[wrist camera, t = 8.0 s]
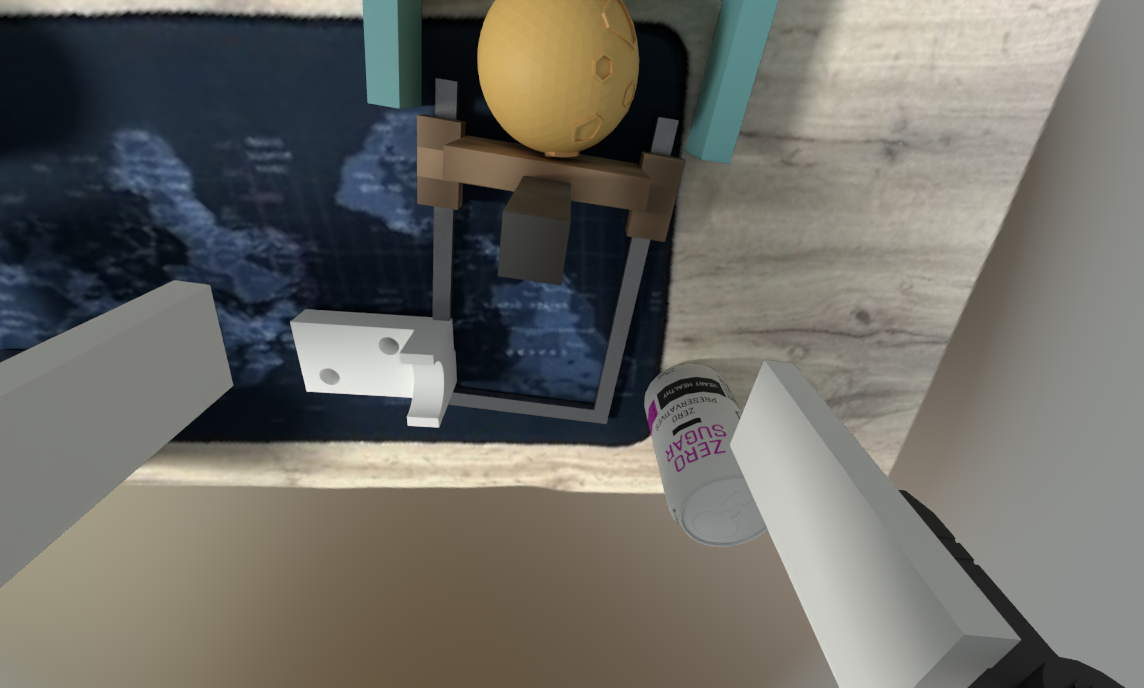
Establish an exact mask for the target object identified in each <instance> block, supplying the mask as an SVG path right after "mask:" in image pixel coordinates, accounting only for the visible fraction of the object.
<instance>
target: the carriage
mask: <svg viewBox="0 0 1144 688" xmlns="http://www.w3.org/2000/svg"><path fill="white" fill-rule="evenodd" d="M465 124H466V121H460V120H454V119H448V118H442V117H436V116H430V115H424V114H423V115H417V204H422V205H429V206H435V207H441V208H448V209H454V210H458V209H459V208H460V207H461V206H462V197H463V183H465V184H471V185H477V186H484V187H490V188H496V189H503V190H509V191H514V193H513V195H512V197H511V198H510V200H509V202H508V204H507V205H506V207H505V209H504V211H503V217H502V229H501V241H500V253H499V265H498V276H501V277H508V278H515V279H522V280H529V281H536V282H542V283H549V284H556V285H561V283H562V276H563V270H564V263H565V257H566V250H567V243H568V237H569V230H570V224H571V200H572V201H578V202H585V203H591V204H597V205H603V206H610V207H616V208H622V209H629V214H628V219H627V223H626V228H625V232H626V235H627V236H629V237H636V238H642V239H649V240H655V241H662V242H665V239H666V235H667V231H668V228H669V224H670V220H671V216H672V212H673V208H674V204H675V200H676V196H677V192H678V188H679V184H680V180H681V176H682V172H683V168H684V165H685V160H684V159H682V158H679V157H673V156H667V155H661V154H655V153H650V152H644V151H642V152H641V157H640V161H639V165H638V164H637V163H631V162H625V161H619V160H613V159H607V158H601V157H595V156H589V155H583V154H579V156H575V157H566V158H565V157H550V158H547V157H545V153H543V152H540V151H536V150H534V149H532V148H529V147H527V146H525V145H523V144H517V143H511V142H505V141H499V140H493V139H487V138H480V137H474V136H468V135H467V136H465Z"/></svg>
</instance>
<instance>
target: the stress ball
mask: <svg viewBox="0 0 1144 688" xmlns="http://www.w3.org/2000/svg"><path fill="white" fill-rule="evenodd" d="M638 72H639V53H638V44H637V37H636V33H635V28H634V24H633V21H632V19H631V17H630V14H629V12H628V9H627V8H626V6H625V4H624V3H623V1H622V0H495V1H494V3H493V5H492V6H491V8H490V9H489V11H488V14H487V16H486V18H485V20H484V23H483V27H482V30H481V33H480V39H479V44H478V74H479V79H480V85H481V88H482V91H483V94H484V97H485V100H486V102H487V104H488V106H489V108H490V110H491V112H492V114H493V115H494V117H495V118H496V120H497V121H498V122H499V124H500V125H501V126H502V127H503V129H504V130H505V131H506V132H508V133H509V134H510V135H511V136H512V137H513V138H514V139H516V140H517V141H519V142H520V143H522V144H523V145H525V146H527V147H529V148H532V149H534V150H536V151H540V152H543V153H545V157H547V158H550V157H565V158H566V157H575V156H579V154H580V151H582V150H585V149H588V148H590V147H591V146H593V145H595V144H597V143H598V142H600V141H601V140H603V139H604V138H605V137H606V136H607V135H609V134H610V133H611V132H612V131H613V130H614V129H615V127H616V126H617V125H618V124H619V122H620V121H621V120H622V119H623V117H624V116H625V115H626V114H627V112H628V110H629V107H630V105H631V102H632V101H633V98H634V94H635V90H636V85H637V79H638Z"/></svg>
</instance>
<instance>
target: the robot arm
mask: <svg viewBox="0 0 1144 688" xmlns="http://www.w3.org/2000/svg"><path fill="white" fill-rule="evenodd" d="M232 386H233V382H232V378H231V373H230V369H229V365H228V360H227V356H226V352H225V348H224V343H223V339H222V335H221V330H220V326H219V322H218V318H217V313H216V309H215V305H214V300H213V296H212V292H211V287H210V285H206V284H199V283H191V282H184V281H176V280H174V281H172V282H170V283H167V284H165V285H163V286H161V287H159V288H157V289H155V290H153V291H151V292H148V293H146V294H144V295H142V296H140V297H138V298H136V299H134V300H132V301H129V302H127V303H125V304H123V305H121V306H119V307H117V308H115V309H113V310H110V311H108V312H106V313H104V314H102V315H100V316H98V317H96V318H94V319H91V320H89V321H87V322H85V323H83V324H81V325H79V326H77V327H74V328H72V329H70V330H68V331H66V332H64V333H62V334H60V335H58V336H55V337H53V338H51V339H49V340H47V341H45V342H43V343H41V344H39V345H36V346H34V347H32V348H30V349H28V350H26V351H21V350H0V588H1V587H2V586H3V585H4V584H5V583H7V582H8V581H9V580H10V579H11V578H12V577H13V576H15V575H16V574H17V573H18V572H19V571H20V570H22V569H23V568H24V567H25V566H26V565H27V564H28V563H30V561H32V560H33V559H34V558H35V557H37V556H38V555H39V554H40V553H41V552H42V551H43V550H45V549H46V548H47V547H48V546H49V545H50V544H51V543H52V542H54V541H55V540H56V539H57V538H58V537H60V536H61V535H62V534H63V533H64V532H65V531H66V530H68V529H69V528H70V527H71V526H72V525H73V524H75V523H76V522H77V521H78V520H79V519H80V518H81V517H83V516H84V515H85V514H86V513H87V512H88V511H89V510H91V509H92V508H93V507H94V506H95V505H96V504H98V503H99V502H100V501H101V500H102V499H103V498H104V497H106V496H107V495H108V494H109V493H110V492H111V491H113V490H114V489H115V488H116V487H117V486H118V485H119V484H121V483H122V482H123V481H124V480H125V479H126V478H127V477H129V476H130V475H131V474H132V473H133V472H134V471H136V470H137V469H138V468H139V467H140V466H141V465H142V464H144V463H145V462H146V461H147V460H148V459H149V458H151V457H152V456H153V455H154V454H155V453H156V452H157V451H159V450H160V449H161V448H162V447H163V446H164V445H165V444H167V443H168V442H169V441H170V440H171V439H172V438H174V437H175V436H176V435H177V434H178V433H179V432H180V431H182V430H183V429H184V428H185V427H186V426H187V425H189V424H190V423H191V422H192V421H193V420H194V419H195V418H197V417H198V416H199V415H200V414H201V413H202V412H203V411H205V410H206V409H207V408H208V407H209V406H210V405H212V404H213V403H214V402H215V401H216V400H217V399H218V398H220V397H221V396H222V395H223V394H224V393H225V392H227V391H228V390H229V389H230V388H231V387H232ZM730 447H731V449H732V451H733V453H734V456H735V458H736V460H737V462H738V464H739V467H740V469H741V471H742V473H743V476H744V478H745V480H746V482H747V484H748V487H749V489H750V491H751V493H752V495H753V498H754V500H755V502H756V504H757V507H758V509H759V511H760V513H761V515H762V518H763V520H764V522H765V524H766V526H767V529H768V531H769V533H770V535H771V538H772V540H773V541H774V544H775V546H776V548H777V551H778V553H779V555H780V557H781V560H782V562H783V564H784V566H785V568H786V571H787V573H788V575H789V577H790V580H791V582H792V584H793V586H794V588H795V590H796V593H797V595H798V597H799V599H800V601H801V604H802V606H803V608H804V611H805V613H806V615H807V617H808V619H809V622H810V623H811V626H812V628H813V630H814V632H815V635H816V637H817V639H818V642H819V644H820V646H821V648H822V650H823V653H824V655H825V657H826V659H827V661H828V664H829V666H830V668H831V670H832V672H833V675H834V677H835V679H836V681H837V684H838V686H839V688H1125V687H1123V686H1121V685H1120V684H1119V683H1117V682H1116V681H1114V680H1113V679H1111V678H1110V677H1108V676H1107V675H1105V674H1104V673H1102V672H1100V671H1098V670H1096V669H1094V668H1092V667H1090V666H1088V665H1086V664H1083V663H1081V662H1079V661H1076V660H1072V659H1067V658H1061V657H1058V655H1057V654H1056V653H1055V652H1054V651H1053V650H1052V649H1051V648H1050V647H1049V646H1048V644H1047V643H1046V642H1045V641H1044V640H1043V639H1042V638H1041V636H1040V635H1039V634H1038V633H1037V632H1036V631H1035V630H1034V628H1033V627H1032V626H1031V625H1030V624H1029V623H1028V621H1027V620H1026V619H1025V618H1024V617H1023V616H1022V614H1021V613H1020V612H1019V611H1018V610H1017V609H1016V607H1015V606H1014V605H1013V604H1012V603H1011V602H1010V601H1009V600H1008V598H1007V597H1006V596H1005V595H1004V594H1003V593H1002V591H1001V590H1000V589H999V588H998V587H997V586H996V584H995V583H994V582H993V581H992V580H991V579H990V578H989V576H988V575H987V574H986V573H985V572H984V570H982V569H981V567H980V566H979V565H975V564H974V562H973V561H974V559H973V558H972V557H971V556H970V554H969V553H968V552H967V551H966V550H965V549H964V547H963V546H962V545H961V544H960V543H956V542H955V537H954V536H953V535H952V533H951V532H950V531H949V530H948V529H947V528H946V527H945V525H944V524H943V523H942V522H941V521H940V520H939V518H938V517H937V516H936V515H935V514H934V513H933V512H932V511H931V510H929V509H928V508H927V507H926V506H924V505H923V504H922V503H920V502H919V501H918V500H917V499H915V498H914V497H913V496H911V495H910V494H909V493H908V492H907V491H904V490H897V488H896V487H895V486H894V485H893V484H892V482H891V481H890V480H889V479H888V477H887V476H886V475H885V474H884V472H883V471H882V470H881V469H880V468H879V466H878V465H877V464H876V463H875V462H874V460H873V459H872V458H871V457H870V456H869V454H868V453H867V452H866V451H865V449H864V448H863V447H862V446H861V445H860V443H859V442H858V441H857V440H856V439H855V437H854V436H853V435H852V434H851V432H850V431H849V430H848V429H847V428H846V426H845V425H844V424H843V423H842V422H841V420H840V419H839V418H838V417H837V415H836V414H835V413H834V412H833V411H832V409H831V408H830V407H829V406H828V405H827V403H826V402H825V401H824V400H823V398H822V397H821V396H820V395H819V394H818V392H817V391H816V390H815V389H814V388H813V386H812V385H811V384H810V383H809V382H808V380H807V379H806V378H805V377H804V375H803V374H802V373H801V372H800V371H799V369H798V368H797V367H796V366H795V365H794V363H786V362H779V361H771V360H764V361H763V364H762V366H761V369H760V371H759V374H758V376H757V379H756V381H755V383H754V386H753V388H752V391H751V393H750V396H749V398H748V401H747V403H746V406H745V408H744V411H743V413H742V416H741V418H740V421H739V423H738V425H737V428H736V430H735V433H734V435H733V438H732V440H731V443H730Z"/></svg>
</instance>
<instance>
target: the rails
mask: <svg viewBox="0 0 1144 688" xmlns="http://www.w3.org/2000/svg"><path fill="white" fill-rule="evenodd" d="M459 104H460V82H457V81H451V80H445V79H439V78H436V91H435V116H436V117H442V118H448V119H454V120H459ZM678 122H679V120H674V119H668V118H663V117H657V116H656V121H655V125H654V130H653V134H652V139H651V144H650V148H649V152H650V153H655V154H661V155H667V156H670V155H671V151H672V147H673V143H674V138H675V134H676V130H677V126H678ZM455 219H456V210H454V209H448V208H441V207H435V206H434V247H433V320H440V321H450V319H452V304H453V276H454V247H455ZM649 243H650V240H649V239H642V238H636V237H630V240H629V245H628V250H627V254H626V259H625V264H624V268H623V273H622V277H621V282H620V287H619V291H618V296H617V300H616V305H615V310H614V314H613V319H612V323H611V328H610V333H609V337H608V342H607V346H606V351H605V356H604V360H603V365H602V370H601V374H600V379H599V383H598V388H597V393H596V397H595V402H594V404H588V403H580V402H572V401H564V400H556V399H548V398H540V397H533V396H525V395H517V394H509V393H501V392H493V391H485V390H477V389H469V388H461V387H455V388H454V390H453V393H452V395H451V398H450V400H449V403H448V404H449V405H457V406H465V407H473V408H481V409H489V410H497V411H506V412H514V413H522V414H530V415H538V416H546V417H554V418H562V419H571V420H579V421H587V422H595V423H603V424H607V419H608V415H609V411H610V407H611V403H612V398H613V394H614V390H615V386H616V382H617V377H618V373H619V369H620V365H621V361H622V356H623V352H624V348H625V344H626V340H627V335H628V331H629V327H630V323H631V319H632V314H633V310H634V306H635V302H636V298H637V293H638V289H639V285H640V281H641V277H642V273H643V268H644V264H645V260H646V256H647V252H648V247H649Z"/></svg>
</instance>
